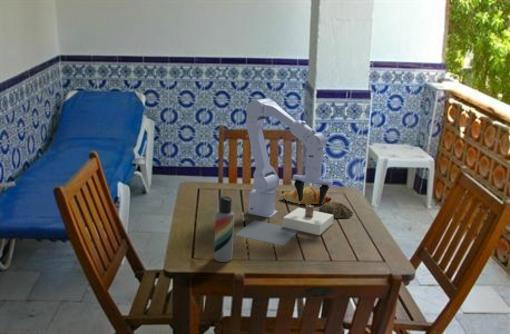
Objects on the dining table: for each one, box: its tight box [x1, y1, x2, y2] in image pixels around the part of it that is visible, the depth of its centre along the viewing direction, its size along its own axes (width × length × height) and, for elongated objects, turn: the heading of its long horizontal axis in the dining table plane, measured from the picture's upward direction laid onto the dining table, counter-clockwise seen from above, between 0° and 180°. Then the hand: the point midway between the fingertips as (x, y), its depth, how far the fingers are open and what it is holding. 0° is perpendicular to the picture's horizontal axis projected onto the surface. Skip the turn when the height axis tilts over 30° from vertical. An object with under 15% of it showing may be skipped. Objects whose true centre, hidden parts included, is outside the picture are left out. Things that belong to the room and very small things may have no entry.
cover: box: [282, 205, 334, 236], centre depth 201 cm, size 14×14×7 cm
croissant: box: [279, 186, 332, 204], centre depth 228 cm, size 21×10×8 cm, turn 84°
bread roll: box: [318, 201, 354, 219], centre depth 216 cm, size 13×12×5 cm
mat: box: [234, 219, 300, 247], centre depth 193 cm, size 18×17×1 cm
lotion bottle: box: [213, 195, 235, 263], centre depth 168 cm, size 6×6×20 cm
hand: (310, 202), depth 200 cm, fingers open, 7 cm apart
